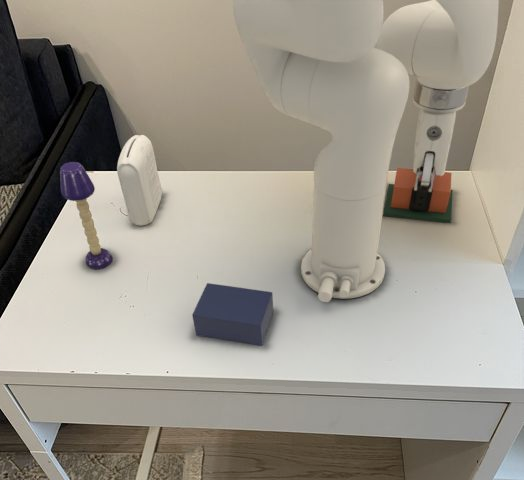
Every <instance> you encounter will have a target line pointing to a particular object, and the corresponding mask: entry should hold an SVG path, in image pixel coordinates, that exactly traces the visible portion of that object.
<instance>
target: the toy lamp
mask: <svg viewBox="0 0 524 480" xmlns="http://www.w3.org/2000/svg"><path fill="white" fill-rule="evenodd" d="M59 174H60V175H59V176H60V194H61V196H62V197H63V199H65V200H68V201H71V202H75V204H76V209H77V211H78V215H79V218H80V219H81V225H82V228H83V230H84V235H85V237H86V242H87V244H88V248H89V251H88V252H87V254H86V255H85V265H86V267H88V268H89V269H92V270H101V269H104V268H107V267H108V266H110V265H111V263H113V260H114V259H113V255H112V254H111V252H110V251H109V250H108V249H106V248H104V247H101V245H100V241H99V237H98V235H97V234H98V233H97V228H96V227H95V221H94V219H93V215H92V212H91V210H90V204H89V202H88V201H87V200H88V198H91V196H93V195H94V193H95V190H96V188H95V184H94V183H93V181H92V179H91V178H90V176H89V174H88V173H87V170H86V169H85V168H84V165H82V164H81V163H80V162H77V161H70V162H69V161H68V162H66V163H64V164H63V165H62V166H61V167H60V172H59Z"/></svg>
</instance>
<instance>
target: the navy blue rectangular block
mask: <svg viewBox="0 0 524 480" xmlns="http://www.w3.org/2000/svg"><path fill="white" fill-rule="evenodd" d="M273 295H274V294H273V291H267V290H260V289H253V288H246V287H239V286H232V285H226V284H225V285H224V284H217V283H211V282H207V283H206V285H205V287H204V288H203V291H202V294H201V295H200V297H199V300H198V302H197V304H196V306H195V307H194V310H193V313H192V315H191V316H192V320H193V325H194V331H195V335H196V336H200V337H206V338H212V339H220V340H224V341H231V342H236V343H243V344H249V345H257V346H263V344H264V341H265V338H266V335H267V332H268V330H269V328H270V327H269V326H270V323H271V320H272V318H273V315H274V299H273Z"/></svg>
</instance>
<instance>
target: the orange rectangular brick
mask: <svg viewBox="0 0 524 480" xmlns="http://www.w3.org/2000/svg"><path fill="white" fill-rule="evenodd" d="M416 175H417V174H415V173H414V171H413V168H404V167H397V168H396V172H395V179H394V183H393V184H394V189H393V196H392V202H391V207H392V208H402V209H409V205H410V200H411V194H412V188H413V187H415V181H416ZM430 177H431V176H430ZM421 179H422V175H420V178H419V181H420V180H421ZM432 189H433V192H432V197H431V202H430V207H429V211H430V212H440V213H446V209H447V205H448V201H449V197H450V193H451V190H452V172H449V171H448V172H447V171H445V173H444V175H443V176H440V175H436V172H435V176H434V181H433V186H432Z"/></svg>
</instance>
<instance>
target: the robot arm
mask: <svg viewBox="0 0 524 480" xmlns="http://www.w3.org/2000/svg"><path fill="white" fill-rule="evenodd" d="M499 5H500V0H426V1H423V2H422V1H421V2H418V3H412V4H407V5H404V6H402V7H399V8H397V9H396V10H395V11H394V12H392V13H391V14H390V15H388V17H387V18H386V19H385V20H384V12H385V11H384V0H232V8H233V15H234V21H235V25H236V28H237V31H238V33H239V36H240V39H241V41H242V44H243V46H244V48H245V51H246V53H247V56H248V59H249V60H250V63H251V65H252V67H253V70H254V72H255V75H256V77H257V79H258V81H259V84H260V86H261V89H262V90H263V93H264V94H265V97H266V98H267V100H268V101H269V103H270V104H271V105H272V107H273V108H274V109H275V110H277V111H278V112H280V113H282V114H283V115H285V116H288V117H290V118H293V119H295V120H298V121H301V122H305V123H307V124H309V125H313V126H315V127H317V128H319V129H322V130H325V131H327V132H328V133H329V134H330V135H331V139H330V141H329V143H327V144H326V145H325V146H324V147H323V148H322V149H321V150H320V152H319V153H318V155H317V156H316V159H315V162H314V166H313V190H312V191H313V194H312V195H313V196H312V197H313V200H312V230H311V231H312V232H311V248H310V249H309V250H307V252H306V253H305V254H304V256H303V257H302V260H301V263H300V274H301V277H302V279H303V281H304V282H305V284H306V285H307V286H308V287H309V288H310V289H312V291H315V292H316V293H318V294H317V299H318V300H319V301H320V302H322V303H329V302H330V301H331V300H332V298H333V299H345V300H346V299H355V298H359V297H363V296H366V295H368V294H370V293H372V292H374V291H375V290H376V289H378V288H379V287H380V286H381V284H382V283H383V280H384V279H385V274H386V264H385V261H384V259H383V257H382V256H381V255H380V253H378V250H379V242H380V235H381V228H382V222H383V221H382V220H383V213H384V207H385V201H386V194H387V187H388V186H387V184H388V177H389V171H390V164H391V158H392V154H393V149H394V143H395V140H396V136H397V133H398V129H399V127H400V123H401V121H402V118H403V114H404V112H405V110H406V106H407V102H408V98H409V93H410V85H411V84H410V82H411V81H410V76H413V77H416V80H415V86H414V91H413V98H412V102H413V104H414V106H415V107H416V108H418V109H419V112H418V118H417V125H416V132H415V140H414V151H413V166H412V167H413V168H412V169H413V171H414V173H415V174H417V175H416V181H415V187H413V188H412V194H411V200H410V205H409V209H410V210H415V211H424V212H427V211H429V207H430V202H431V197H432V192H433V189H432V186H433V181H434V176H435V172H436V175H440V176H443V175H444V173H445V172H446V167H447V163H448V157H449V153H450V148H451V143H452V140H453V139H452V138H453V134H454V128H455V123H456V117H457V112H458V111H461V110H462V109H463V108H464V107H465V106H466V102H467V97H468V93H469V89H470V86H472V85H474V84H475V83H477V82H478V81H479V80H480V79H481V78H482V77H483V76H484V74H485V73H486V72H487V70H488V68H489V66H490V64H491V62H492V59H493V55H494V53H495V52H494V51H495V48H496V42H497V36H498V35H497V34H498V24H499V8H500V7H499ZM420 175H422V179H421V180H420V181H419V178H420ZM430 176H431V177H430Z"/></svg>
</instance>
